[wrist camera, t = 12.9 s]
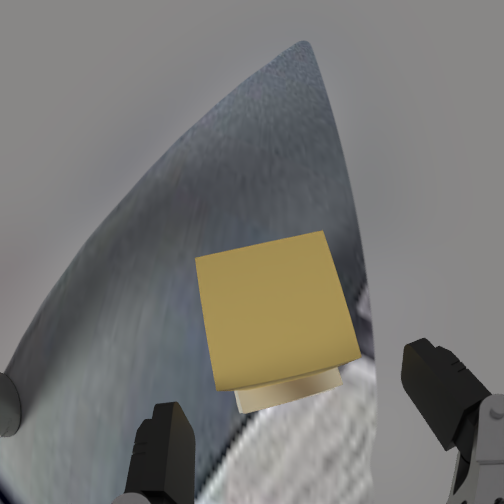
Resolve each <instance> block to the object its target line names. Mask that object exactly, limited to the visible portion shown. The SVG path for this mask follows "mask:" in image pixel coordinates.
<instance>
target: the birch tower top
mask: <svg viewBox="0 0 504 504" xmlns="http://www.w3.org/2000/svg"><path fill="white" fill-rule="evenodd" d="M340 385H343V383H342V380H341V376H340V373H339V370H338V367H336V368H334V369H331V370H328V371H326V372H323V373H320V374H317V375H313V376H309V377H305V378H301V379H297V380H293V381H289V382H284V383H280V384H275V385H271V386H266V387H261V388H256V389H251V390H242V391H237V392H238V396H239V400H240V403H241V407H242V411H243V414H245V413H249V412H253V411H258V410H261V409H265V408H269V407H273V406H277V405H280V404H284V403H287V402H291V401H294V400H297V399H301V398H304V397H307V396H310V395H313V394H317V393H320V392H323V391H326V390H328V389H331V388H334V387H337V386H340Z"/></svg>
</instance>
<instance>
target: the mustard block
mask: <svg viewBox="0 0 504 504" xmlns="http://www.w3.org/2000/svg"><path fill="white" fill-rule="evenodd" d="M195 261H196V269H197V276H198V283H199V290H200V297H201V303H202V310H203V316H204V322H205V329H206V335H207V341H208V346H209V352H210V358H211V363H212V369H213V374H214V380H215V385H216V390H217V391H242V390H251V389H256V388H261V387H266V386H271V385H275V384H280V383H284V382H289V381H293V380H297V379H301V378H305V377H309V376H313V375H317V374H320V373H323V372H326V371H328V370H331V369H334V368H336V367H339V366H341V365H344V364H346V363H349V362H351V361H354V360H356V359H359V358H361V353H360V350H359V346H358V342H357V339H356V335H355V331H354V328H353V324H352V321H351V317H350V314H349V311H348V307H347V304H346V301H345V297H344V294H343V291H342V287H341V284H340V281H339V278H338V275H337V272H336V268H335V265H334V262H333V259H332V256H331V253H330V250H329V247H328V244H327V241H326V238H325V235H324V233H323V230H322V231H318V232H313V233H308V234H304V235H299V236H294V237H289V238H285V239H280V240H275V241H271V242H266V243H261V244H257V245H252V246H247V247H243V248H238V249H233V250H229V251H224V252H220V253H215V254H210V255H206V256H201V257H197V258H195Z"/></svg>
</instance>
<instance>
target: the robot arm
mask: <svg viewBox="0 0 504 504" xmlns="http://www.w3.org/2000/svg"><path fill="white" fill-rule="evenodd" d="M401 381H402V384H403V387H404V389H405V391H406V393H407V394H408V396H409V397H410V398H411V400H412V401H413V403H414V404H415V405H416V407H417V409H418V410H419V412H420V413H421V415H422V416H423V418H424V419H425V420H426V422H427V424H428V425H429V427H430V428H431V430H432V431H433V433H434V434H435V435H436V437H437V439H438V440H439V441H440V443H441V445H442V446H443V448H444V449H445V451H448V450H449V449H451V448H453V447H455V446H456V447H457V448H458V450H459V452H458V454H457V460H456V466H455V471H454V476H453V481H452V485H451V490H450V494H449V498H448V501H447V503H446V504H504V395H503V394H494V395H492V394H491V393H490V392H489V391H488V390H487V389H486V388H485V386H483V384H482V383H481V382H480V381H479V380H478V379H477V378H476V377H475V376H474V375H473V374H472V373H471V371H470V370H469V369H466V366H464V364H463V363H462V362H460V360H459V359H458V358H457V357H456V356H455V355H454V354H453V353H452V352H451V351H449V350H447V349H445V348H443V347H440V346H438V347H436V348H435V347H434V346H433V345H432V344H431V343H430V342H429V341H428V340H427V339H426V338H422V339H419V340H417V341H414V342H412V343H409V344H407V345H405V347H404V353H403V362H402V371H401ZM20 416H21V410H20V402H19V397H18V394H17V391H16V389H15V386H14V385H13V383H12V381H11V380H10V379H9V378H8V377H7V376H6V375H5V374H3V373H0V437H10V436H12V435H14V434H15V432H16V431H17V429H18V427H19V423H20ZM134 443H135V445H134V447H133V451H132V453H133V455H132V456H131V461H130V466H129V472H128V477H127V482H126V488H125V492H124V494H122V495H120V496H118V497H117V498H116V499H114V501H113V502H112V503H111V504H194V478H195V435H194V432H193V429H192V427H191V425H190V423H189V421H188V419H187V418H186V416H185V414H184V412H183V410H182V408H181V406H180V405H179V403H178V402H169V403H160V404H156V405H155V406H154V411H153V416H152V419H145V420H144V421H143V422H142V424H141V425H140V427H139V428H138V430H137V433H136V437H135V442H134Z"/></svg>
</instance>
